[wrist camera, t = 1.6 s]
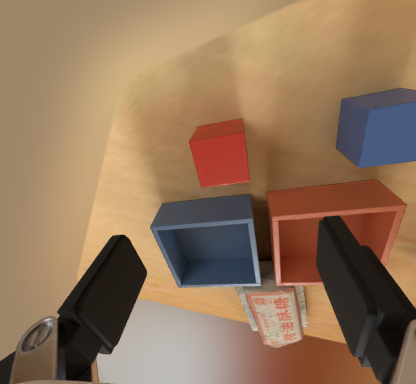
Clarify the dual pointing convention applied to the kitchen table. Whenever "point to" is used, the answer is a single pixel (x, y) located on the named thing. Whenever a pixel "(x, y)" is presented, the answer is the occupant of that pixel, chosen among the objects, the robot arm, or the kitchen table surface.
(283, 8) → the kitchen table surface
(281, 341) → the packaged product
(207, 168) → the red block
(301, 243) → the terracotta bin
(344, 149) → the blue block
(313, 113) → the kitchen table surface
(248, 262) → the blue bin
